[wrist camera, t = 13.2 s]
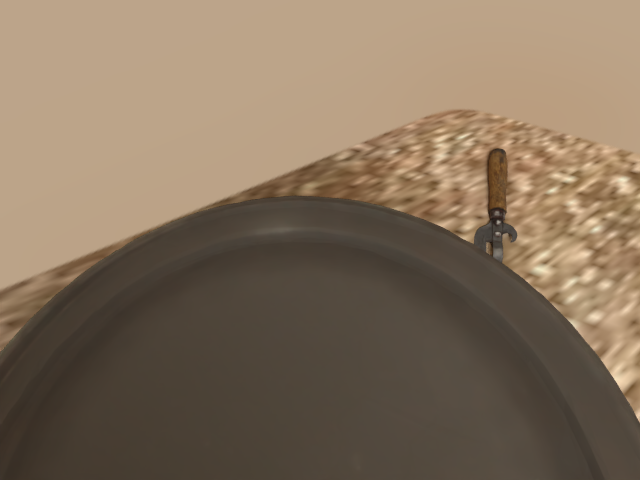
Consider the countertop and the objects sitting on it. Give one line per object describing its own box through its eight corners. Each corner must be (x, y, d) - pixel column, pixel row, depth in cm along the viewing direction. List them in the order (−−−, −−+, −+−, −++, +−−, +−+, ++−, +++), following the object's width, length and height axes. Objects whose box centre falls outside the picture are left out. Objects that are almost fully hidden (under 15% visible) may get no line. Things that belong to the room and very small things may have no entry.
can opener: (487, 157, 30) (492, 145, 29) (522, 163, 30) (528, 152, 29) (468, 268, 26) (472, 259, 25) (508, 278, 25) (515, 269, 24)
